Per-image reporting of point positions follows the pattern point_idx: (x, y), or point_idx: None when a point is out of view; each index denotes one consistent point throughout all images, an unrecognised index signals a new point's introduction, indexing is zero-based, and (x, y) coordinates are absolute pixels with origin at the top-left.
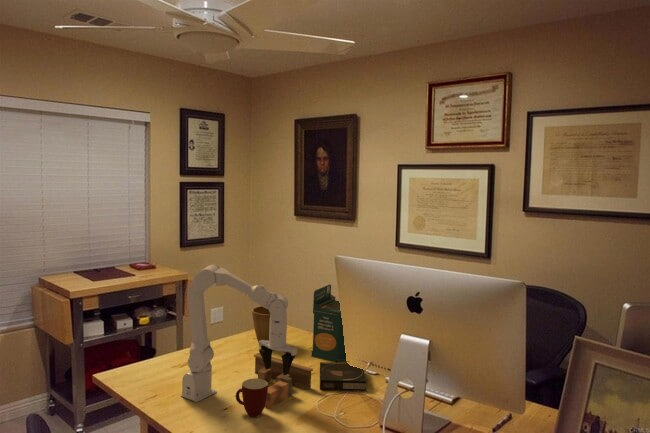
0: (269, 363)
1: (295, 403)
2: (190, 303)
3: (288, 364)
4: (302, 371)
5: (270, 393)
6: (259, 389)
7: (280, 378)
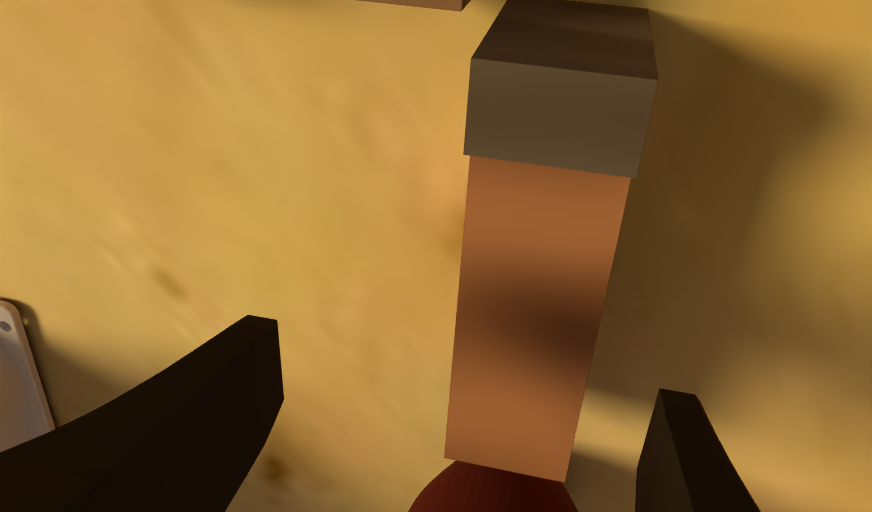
0: (236, 403)
1: (785, 185)
2: None
3: None
4: None
5: (560, 477)
6: None
7: (401, 4)
